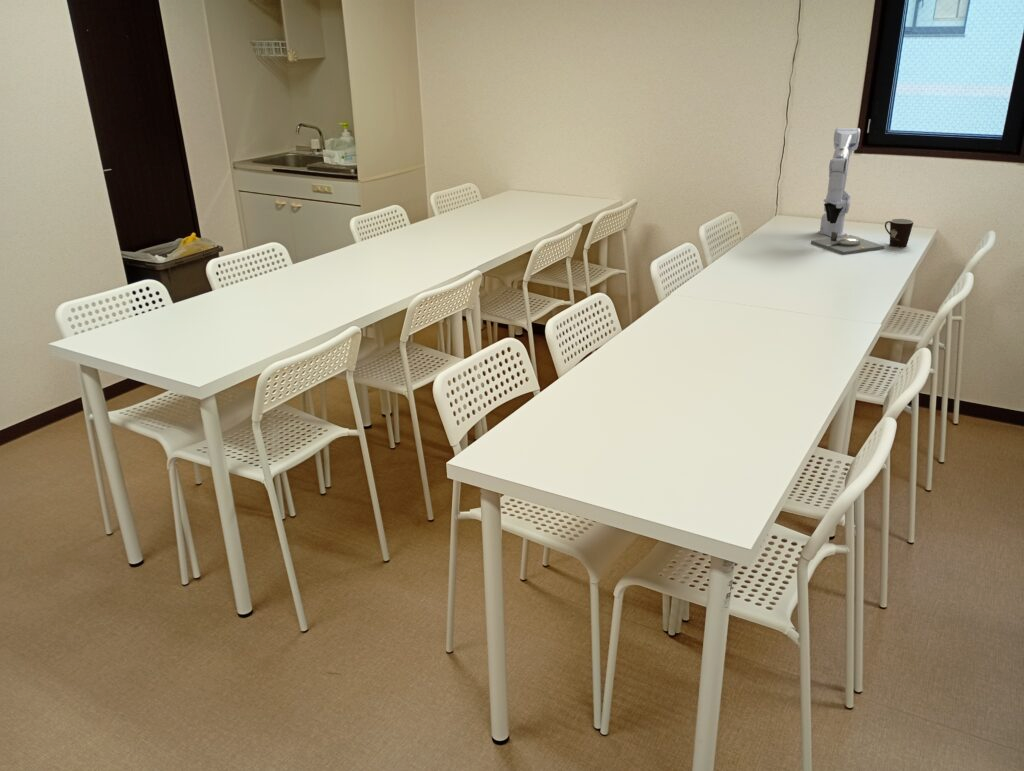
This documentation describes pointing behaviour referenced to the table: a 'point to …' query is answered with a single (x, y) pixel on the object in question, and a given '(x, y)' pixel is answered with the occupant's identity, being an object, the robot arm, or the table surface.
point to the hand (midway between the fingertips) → (831, 222)
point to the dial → (844, 240)
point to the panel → (844, 250)
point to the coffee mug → (899, 232)
